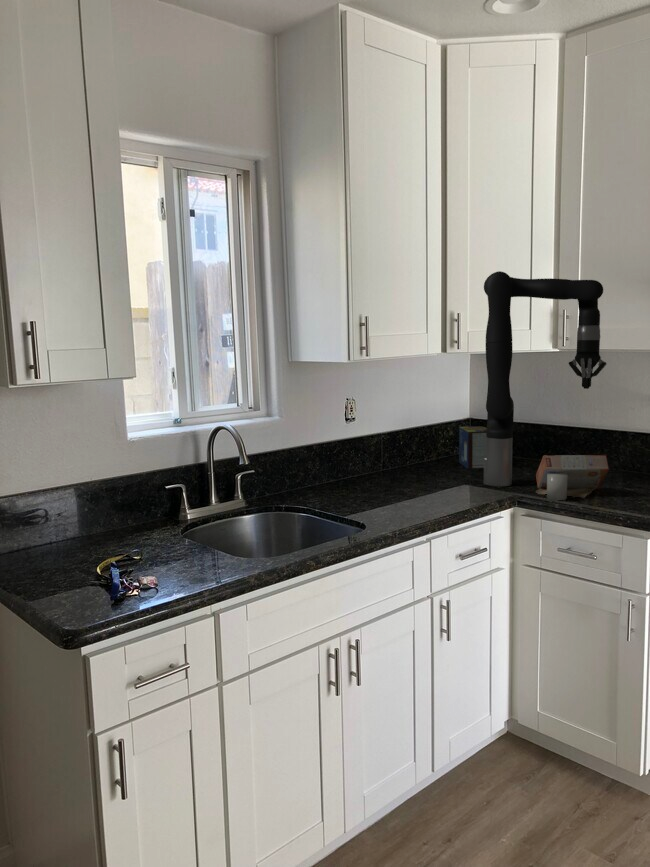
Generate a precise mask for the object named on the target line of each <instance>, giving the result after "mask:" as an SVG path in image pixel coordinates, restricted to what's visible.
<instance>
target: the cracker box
mask: <svg viewBox="0 0 650 867" xmlns="http://www.w3.org/2000/svg"><path fill="white" fill-rule="evenodd" d="M609 471H610V468H609V463H608V458H607V454H605V455H604V454H601V455H600V454H598V455H597V454H596V455H595V454H593V455H592V454H589V455H588V454H586V455H585V454H584V455H582V454H576V455H573V454H572V455H571V454H570V455H569V454H565V455H564V454H562V455H561V454H560V455H557V454H555V455H550V454H548V455H546V454H545V455H543V456H542V458H541V462H540V463H539V466H538V468H537V471H536V473H535V477H536V483H537V484H536V486H537V489H540V488H547V474H548V473H564V474H567V475H568V481H567V488H596V489H599V488H600V486H601V484H602V482H604V479H605V477H606V476H607V474H608V472H609Z"/></svg>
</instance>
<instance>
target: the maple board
mask: <svg viewBox="0 0 650 867" xmlns="http://www.w3.org/2000/svg"><path fill="white" fill-rule="evenodd" d="M596 489H597V488H567V496H573V497H572V498H575V497H581V498H580V499H586V498H587V497H588V496H590V495H591V494H592V493H593V492H594V491H595V490H596ZM593 490H594V491H593ZM592 491H593V492H592ZM536 493H537V495H545V494H547V488H537V490H535V494H536ZM587 495H588V496H587ZM586 496H587V497H586ZM585 497H586V498H585Z"/></svg>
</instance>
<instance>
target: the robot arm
mask: <svg viewBox="0 0 650 867" xmlns="http://www.w3.org/2000/svg"><path fill="white" fill-rule="evenodd" d="M483 291H484V293H485V294H486V296H487V304H488V318H487V324H486V329H485V361H486V362H485V363H486V374H487V393H486V404H485V409H486V412H487V416H486V417H487V418H486V419H487V421H486V428H487V429H486V458H484V468H483V485H486V486H490V487H508V486H512V484H513V483H512V482H513V481H512V480H513V478H512V477H513V441H514V440H513V438H514V437H513V436H514V434H513V433H514V411H515V409H514V408H515V407H514V400H513V398H512V397H511V389H510V387H511V386H510V377H511V375H510V374H511V369H512V364H513V362H512V361H513V328H512V319H511V306H512V305H511V304H512V303H511V302H512V298H519V297H521V298H536V299H547V300H559V301H560V300H563V301H565V300H577V304H578V307H577V308H578V324H577V326H578V328H577V333H576V354H575V356H574V359H572V360H571V361H569V362H568V365H569V367H570V368H571V369H572V371H573V372H574V373H575V374H576V376H577V377H581V387H582V388H583V389H584V390H585V389H586V390H588V389H590V387H592V378H593V377H597V376H598V375H599V373H601V371H602V370H603V369H604V368H605V367H606V366H607V364H608V363H607V362H606V361H604V360H602V359H601V354H600V350H601V349H600V347H601V346H600V345H601V327H600V325H601V311H600V309H599V303H598V302H599V299H600V298H601V297H602V295H603V293H604V287H603V284H602V283H601V282H600V281H598V280H595V279H568V278H567V279H566V278H518V277H513V276H510V275H509V274H508V273H506V272H504V271H496V272H492V273H491V274H489V276H487V278H486V279H485V281H484V284H483ZM577 365H578V366H579V367H578V366H577ZM596 366H598V367H597V368H596V369H595V370H594V368H595V367H596ZM579 368H580V369H579ZM593 370H594V371H593Z"/></svg>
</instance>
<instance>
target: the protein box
mask: <svg viewBox="0 0 650 867" xmlns="http://www.w3.org/2000/svg"><path fill="white" fill-rule="evenodd" d="M486 429H487V427H485V426H483V425H481V426H459V430H458V432H459V433H458V434H459V436H458V437H459V438H458V440H459V441H458V444H459V445H458V446H459V448H458V452H459V453H458V457H459V458H458V461H459V464H461V465H462V466H463V467H465V468H466V469H467V470H472V469H473V470H477V469H479V470H480V469H481V470H483V469H484V458H486Z"/></svg>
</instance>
